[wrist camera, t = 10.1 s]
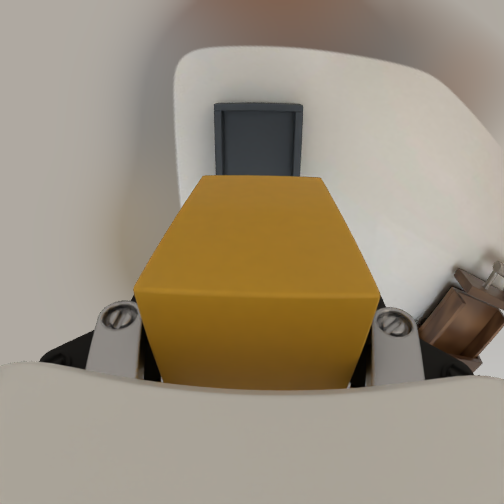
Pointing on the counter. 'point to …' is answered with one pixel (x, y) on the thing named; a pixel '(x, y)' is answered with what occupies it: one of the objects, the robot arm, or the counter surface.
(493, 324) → the drawer
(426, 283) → the counter surface
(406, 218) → the counter surface
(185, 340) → the box
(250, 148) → the dark grey tray
